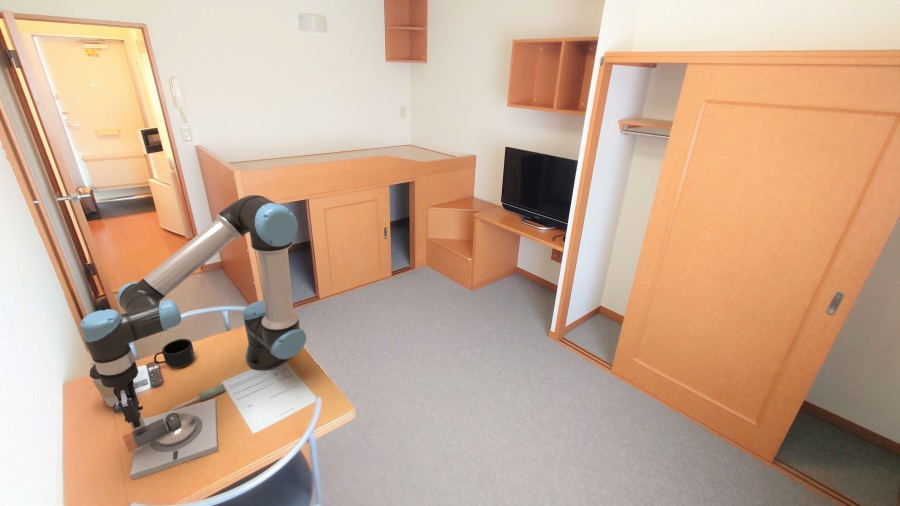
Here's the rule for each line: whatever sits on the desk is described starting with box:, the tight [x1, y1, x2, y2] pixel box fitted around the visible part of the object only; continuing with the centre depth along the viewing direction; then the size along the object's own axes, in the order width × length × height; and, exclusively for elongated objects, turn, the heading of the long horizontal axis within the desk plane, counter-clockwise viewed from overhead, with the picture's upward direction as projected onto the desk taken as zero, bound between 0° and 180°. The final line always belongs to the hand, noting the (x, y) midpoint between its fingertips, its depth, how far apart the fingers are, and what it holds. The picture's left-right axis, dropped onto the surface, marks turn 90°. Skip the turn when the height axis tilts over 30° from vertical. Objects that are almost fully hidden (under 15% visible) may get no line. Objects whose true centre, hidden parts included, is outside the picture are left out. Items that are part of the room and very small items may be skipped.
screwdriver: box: [171, 383, 226, 411], centre depth 131 cm, size 15×3×3 cm
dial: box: [122, 413, 196, 453], centre depth 114 cm, size 16×10×6 cm, turn 136°
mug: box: [153, 338, 195, 369], centre depth 145 cm, size 12×9×7 cm
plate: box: [129, 398, 219, 481], centre depth 118 cm, size 20×20×2 cm
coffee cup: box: [89, 365, 119, 408], centre depth 127 cm, size 9×9×15 cm
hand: (140, 431), depth 112 cm, fingers closed
